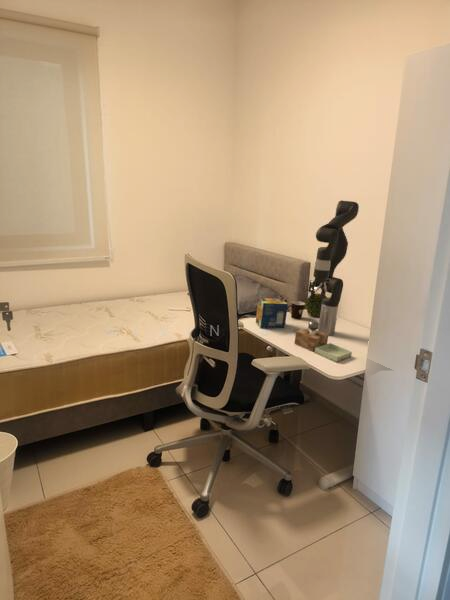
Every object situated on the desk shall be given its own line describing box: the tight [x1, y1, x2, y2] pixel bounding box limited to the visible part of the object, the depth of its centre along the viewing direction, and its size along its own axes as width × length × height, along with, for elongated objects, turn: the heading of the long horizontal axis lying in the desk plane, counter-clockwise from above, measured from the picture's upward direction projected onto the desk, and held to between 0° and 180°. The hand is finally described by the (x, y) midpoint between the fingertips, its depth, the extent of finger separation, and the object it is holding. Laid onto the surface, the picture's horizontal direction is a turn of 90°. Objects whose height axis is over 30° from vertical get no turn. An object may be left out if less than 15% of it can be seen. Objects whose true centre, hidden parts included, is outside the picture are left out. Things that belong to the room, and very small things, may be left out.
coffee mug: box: [287, 300, 306, 320], centre depth 250 cm, size 12×9×10 cm
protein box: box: [255, 297, 289, 329], centre depth 230 cm, size 10×15×16 cm
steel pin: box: [307, 320, 319, 335], centre depth 204 cm, size 5×5×13 cm
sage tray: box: [314, 342, 353, 363], centre depth 196 cm, size 13×13×3 cm
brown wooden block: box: [294, 327, 329, 353], centre depth 205 cm, size 12×12×7 cm
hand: (317, 299), depth 199 cm, fingers open, 8 cm apart
